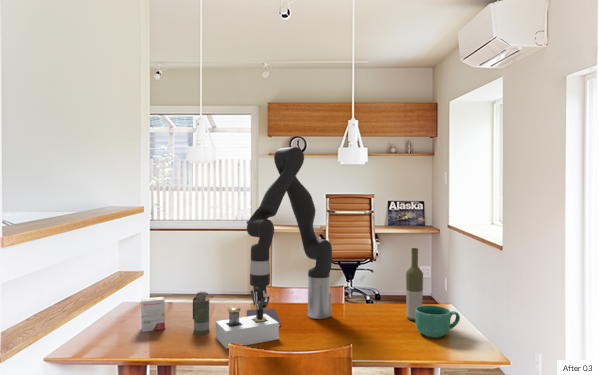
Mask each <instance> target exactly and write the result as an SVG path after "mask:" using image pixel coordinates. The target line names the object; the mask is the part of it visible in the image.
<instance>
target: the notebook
mask: <svg viewBox="0 0 599 375" xmlns="http://www.w3.org/2000/svg"><path fill="white" fill-rule="evenodd" d="M263 314H267V315H268V316H270V317H271V318H272V319H274V320H275V321H277V322H278V323H279V327H281V321H280V318H279V316H278V312H277V310H276V308H264V309H263ZM255 315H256V309H246V317H248V316H255Z"/></svg>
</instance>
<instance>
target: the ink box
mask: <svg viewBox="0 0 599 375" xmlns="http://www.w3.org/2000/svg"><path fill="white" fill-rule="evenodd" d="M140 304H141V305H140V311H141V312H140V314H141V316H140V318H141V319H140V320H141V322H140V323H141V333H145V332H153V331H161V330H165V329H166V322H165V320H166V316H165V314H166V313H165V312H166V311H165V310H166V309H165V308H166V306H165V305H166V304H165V297H164V296H159V297H158V296H157V297H145V298H141V301H140Z"/></svg>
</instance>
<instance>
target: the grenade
mask: <svg viewBox="0 0 599 375" xmlns="http://www.w3.org/2000/svg"><path fill="white" fill-rule="evenodd" d="M208 295H209V293H208V292H206V291H198V292H197V293H196V295H195V296H194V297H193V298H192V320H193V333H194V334H197V335H203V334H207V333H210V298H209V297H207V296H208Z"/></svg>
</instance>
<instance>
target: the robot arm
mask: <svg viewBox="0 0 599 375" xmlns="http://www.w3.org/2000/svg"><path fill="white" fill-rule="evenodd" d="M273 156H274V157H273V159H274V160H273V161H274V165H275V168H276V169H277V172H278V174H279V176H278V177H277V179H275V181H274V182H273V183H272V184H271V185H269V187H268V188H267V190H266V192H265V193H264V195H263V197H262V200H261V202H260V204H259V206H258V207H257V209H256V210H255V211H254V212H253V214H252V215H251V216H250V218H249V220H248V221H247V224H246V232H247V235H249V236H251V237H253V238H258V242H257V243H254V244H252V245H251V247H250V264H249V285H250V286H251V287H253V290H250V294H251V295H250V296H251V299H252V303H253V306H255V310H256V318H257V319H263V309H267V306H268V303H269V302H270V296H267V294H268V293H267V286H270V284H271V263H270V249H271V246H272V243H273V242H272V241H273V238H274V235H275V225H274V223H273V221H272V220H270V218H273V217H275V216H276V215H277V213H278V210H279V208H280V206H281V204H282V201H283V199H284V197H285V194H287V197H288V199H289V203H290V206H291V208H292V212H293V214H294V218H295V220H296V223H297V227H298V230H299V235H300V238H301V243H302V247H303V251H304V254H305V255H306V257H307V258H309V259H310V260H314V261H315V266H313V267H311V268H309V269H308V270H307V271H308V272H307V274H308V275H307V316H308V317H309V318H311V319H316V320H323V319H327V318H329V317H331V316H332V294H331V293H330V274H331V270H332V260H333V247H332V243H331V242H330V241H329V240H328V239H324V238H318V237H317V236H316V232H315V230H314V221H315V218H316V217H315V216H316V207H315V204H314V200H313V197H312V194H311V193H310V192H309V190H308V189H307V188H306V187H305V186H304V185H303V184H302V182H300V180H299V179H298V177H297V175H298V173H299V172H300V170H301V168H302V166H303V165H304V161H305V154H304V152H303V150H302V149H301V148H300V147H297V146H290V147H288V146H287V147H281V148H278V149H277V150H275V153H274V155H273Z"/></svg>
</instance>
